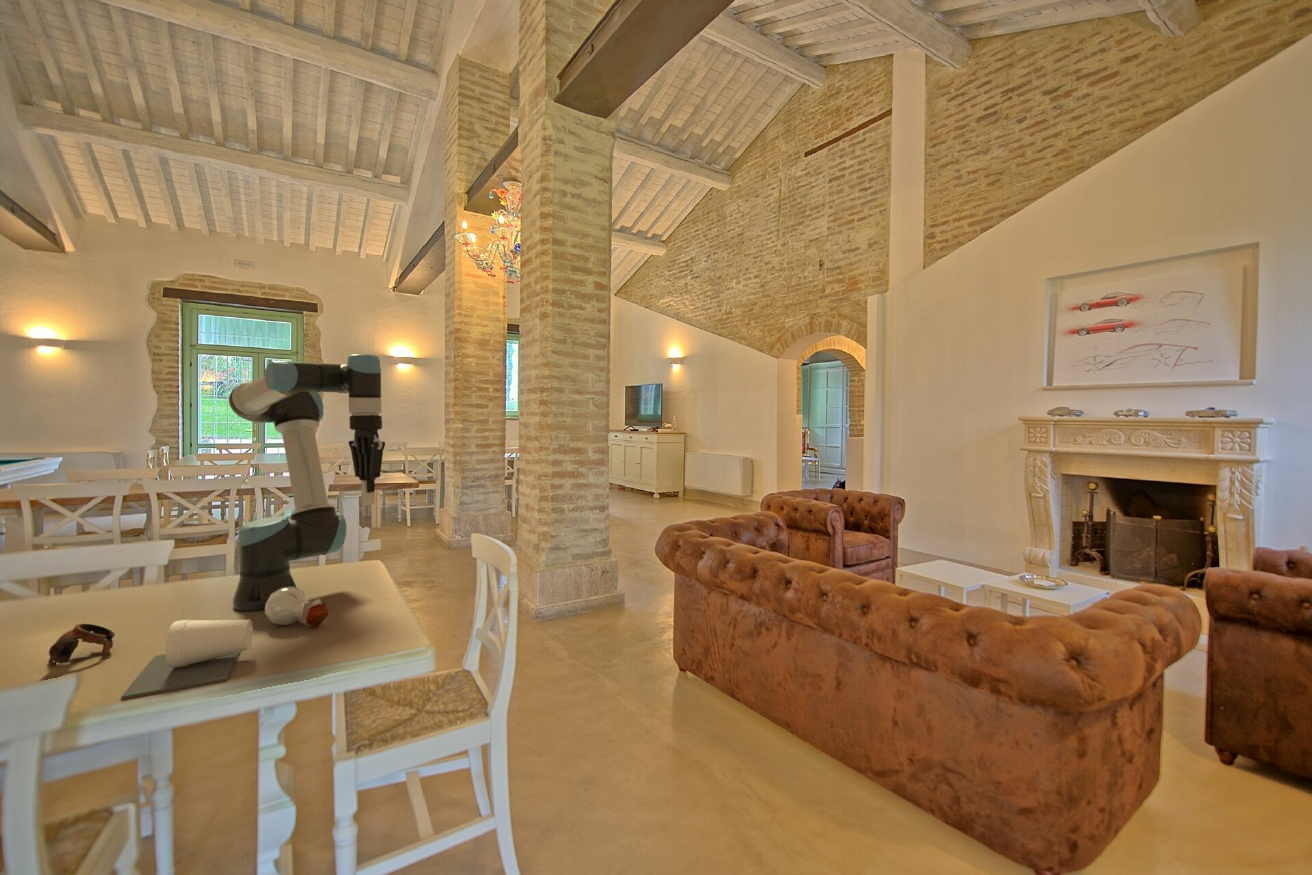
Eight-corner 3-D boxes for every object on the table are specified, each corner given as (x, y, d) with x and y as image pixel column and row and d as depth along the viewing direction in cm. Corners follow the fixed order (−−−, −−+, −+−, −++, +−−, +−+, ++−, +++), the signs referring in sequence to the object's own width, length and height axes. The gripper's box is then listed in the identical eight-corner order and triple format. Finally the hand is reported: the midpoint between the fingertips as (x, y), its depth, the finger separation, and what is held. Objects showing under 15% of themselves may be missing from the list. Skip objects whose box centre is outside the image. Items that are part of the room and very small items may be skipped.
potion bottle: (275, 624, 148) (321, 637, 143) (247, 614, 140) (294, 627, 135) (296, 590, 152) (340, 602, 148) (269, 578, 144) (315, 590, 140)
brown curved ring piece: (62, 654, 128) (87, 619, 130) (106, 670, 129) (130, 634, 132) (20, 663, 116) (48, 624, 119) (68, 680, 118) (95, 641, 120)
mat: (244, 644, 132) (244, 641, 132) (226, 680, 114) (226, 677, 114) (154, 658, 124) (154, 655, 124) (121, 699, 107) (120, 696, 107)
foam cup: (245, 609, 122) (168, 618, 117) (241, 655, 119) (162, 666, 113) (255, 615, 130) (185, 624, 125) (252, 658, 127) (179, 669, 121)
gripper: (394, 414, 148) (396, 504, 149) (365, 414, 155) (367, 500, 156) (366, 414, 141) (368, 508, 142) (337, 414, 148) (340, 504, 149)
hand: (368, 504), depth 149 cm, fingers closed
